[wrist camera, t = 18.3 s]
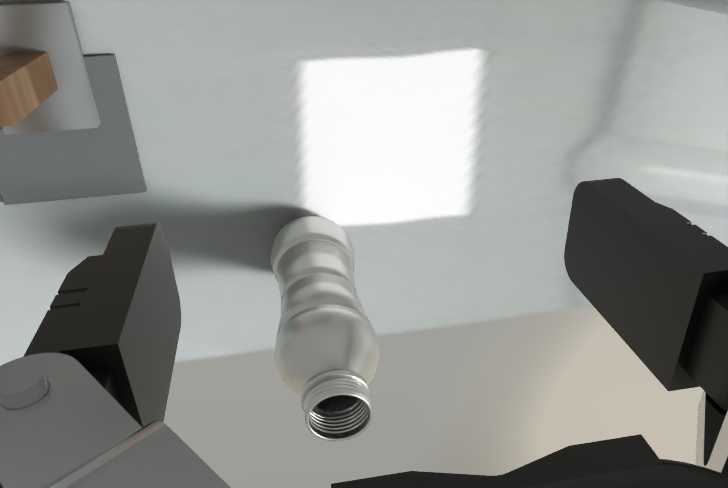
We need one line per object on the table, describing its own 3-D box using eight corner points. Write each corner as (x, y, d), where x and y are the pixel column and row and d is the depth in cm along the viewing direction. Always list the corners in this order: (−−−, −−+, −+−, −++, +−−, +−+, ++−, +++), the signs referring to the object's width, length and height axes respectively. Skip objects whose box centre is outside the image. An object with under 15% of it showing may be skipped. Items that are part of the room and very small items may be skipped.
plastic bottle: (330, 284, 51) (369, 469, 34) (257, 260, 49) (258, 446, 32) (362, 222, 49) (421, 389, 31) (287, 195, 46) (306, 357, 29)
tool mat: (114, 54, 39) (113, 55, 39) (146, 189, 44) (145, 191, 44) (-45, 64, 38) (-47, 65, 38) (6, 202, 43) (4, 204, 43)
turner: (69, 1, 37) (20, 22, 29) (100, 123, 41) (64, 170, 33) (-32, 6, 36) (-111, 29, 29) (10, 130, 40) (-49, 180, 32)
